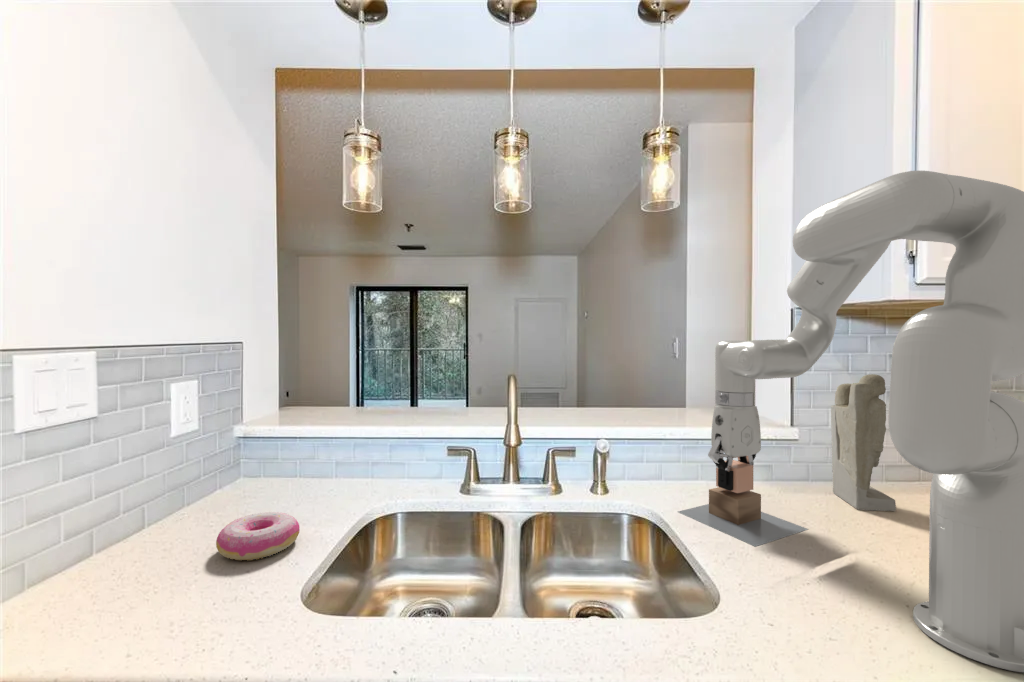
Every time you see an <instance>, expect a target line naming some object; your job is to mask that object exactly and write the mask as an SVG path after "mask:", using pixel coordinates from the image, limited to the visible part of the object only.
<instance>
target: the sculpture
mask: <svg viewBox="0 0 1024 682" xmlns="http://www.w3.org/2000/svg"><path fill="white" fill-rule="evenodd" d="M886 391H887V389H886V381H885V378H884V377H883V376H881V375H880V374H875V373H871V374H865V375H863V376H862V377H860V379H859V381H858V382H853V383H841V384H840V385H838V386H837V388H836V391H835V393H834V394H835V395H834V405H831V406H830V413H831V414H830V419H831V420H830V422H831V426H830V427H831V430H830V431H831V464H832V465H831V469H832V470H831V472H832V493H833V494H834V495H835V496H837V497H839V499H841V500H843V501H845V502H846V503H847V504H848V505H850V506H852V507H853V508H855V509H857V510H864V511H883V512H884V511H885V512H896V511H897V505H896V504H897V503H896V499H895V498H893V497H890V496H889V495H887V494H885V493H884V492H882V491H880V490H878V489H876V488H875V487H873V486H871V481H872V474H873V469H874V468H877V467H878V466H879V463H880V457H881V455H882V453H883V451H884V442H885V435H886V432H887V427H886V421H887V404H886V402H885V401H884V400H883V399H881V398H880V396H882V395H884V394H886Z"/></svg>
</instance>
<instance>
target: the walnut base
mask: <svg viewBox="0 0 1024 682" xmlns="http://www.w3.org/2000/svg"><path fill="white" fill-rule="evenodd" d="M708 504H709V513H711V514H713V515H715V516H718V517H720V518H723V519H725V520H727V521H730V522H732V523H735V524H737V525H740V524H744V523H747V522H751V521H754V520H758V519H761V512H762V494H761V493H758V492H755V491H752V490H749V491H745V492H741V493H735V492H732V491H729V490H726V489H723V488H720V487H717V486H716V487H713V488H709V489H708Z"/></svg>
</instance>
